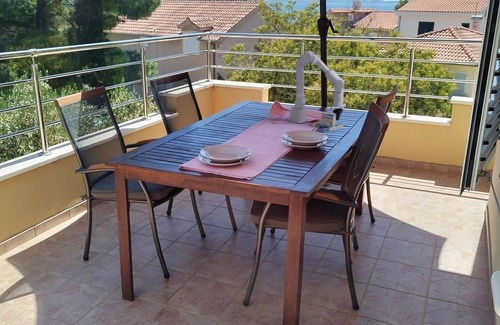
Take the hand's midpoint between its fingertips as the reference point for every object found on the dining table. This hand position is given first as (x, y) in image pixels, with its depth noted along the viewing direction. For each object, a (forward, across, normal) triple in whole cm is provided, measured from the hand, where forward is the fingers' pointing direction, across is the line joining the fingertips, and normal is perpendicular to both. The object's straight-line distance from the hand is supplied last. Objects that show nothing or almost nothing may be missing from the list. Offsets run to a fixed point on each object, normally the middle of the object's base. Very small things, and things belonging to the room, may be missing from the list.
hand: (336, 120), depth 307 cm
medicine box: (+3, -9, 0) cm, 9 cm away
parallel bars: (+3, -9, 0) cm, 9 cm away
